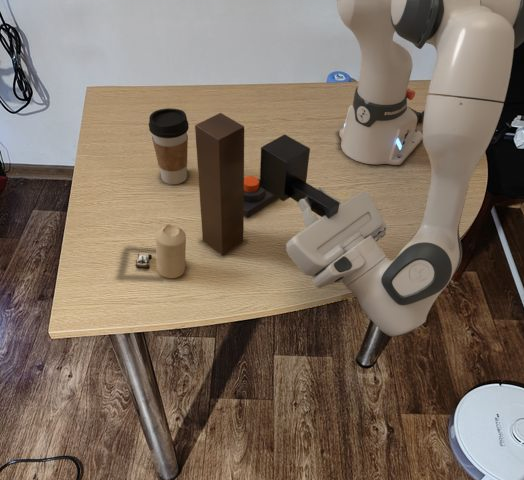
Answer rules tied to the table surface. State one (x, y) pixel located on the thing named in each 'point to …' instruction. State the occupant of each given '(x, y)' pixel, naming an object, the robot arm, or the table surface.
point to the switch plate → (256, 200)
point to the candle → (170, 251)
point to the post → (221, 181)
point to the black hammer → (292, 175)
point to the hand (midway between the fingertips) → (309, 194)
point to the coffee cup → (170, 143)
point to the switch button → (251, 184)
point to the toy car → (143, 260)
